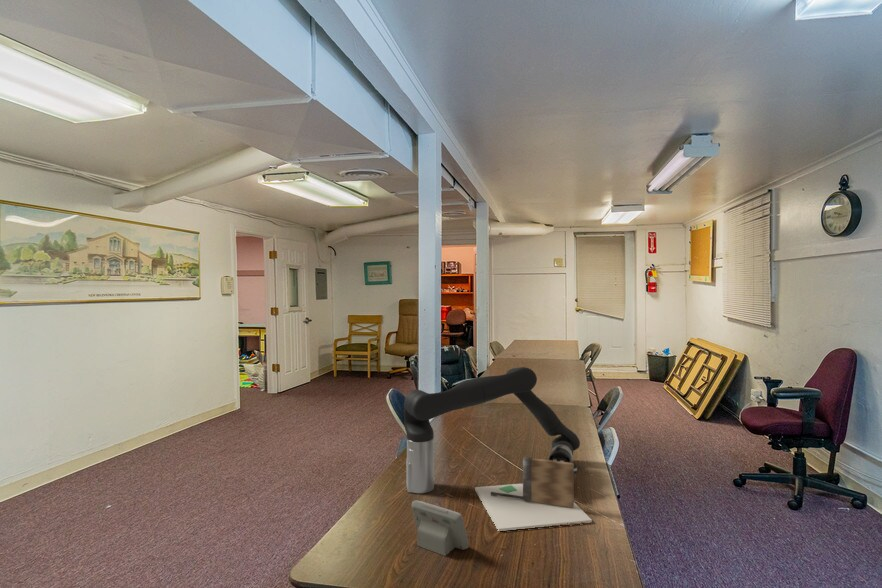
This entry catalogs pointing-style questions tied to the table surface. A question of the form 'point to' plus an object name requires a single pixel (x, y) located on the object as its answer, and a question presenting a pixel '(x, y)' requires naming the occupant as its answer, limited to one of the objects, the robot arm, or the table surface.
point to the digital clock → (439, 528)
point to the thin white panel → (525, 509)
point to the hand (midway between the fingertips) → (555, 476)
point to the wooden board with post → (547, 482)
